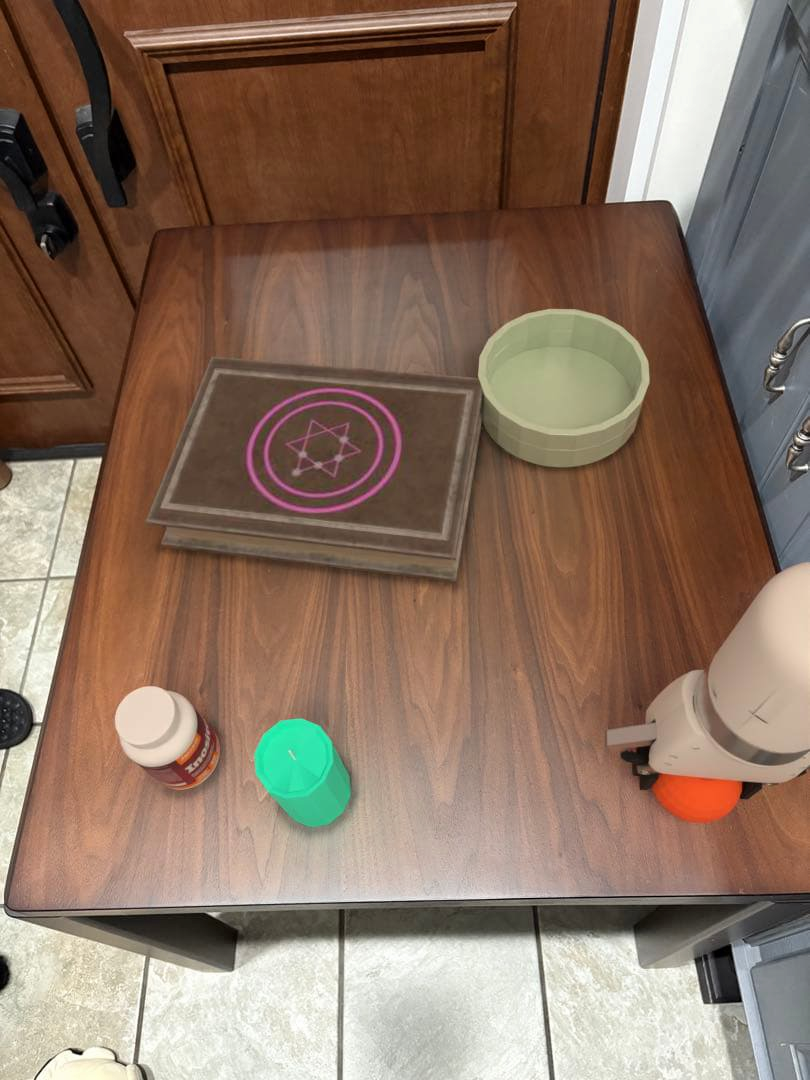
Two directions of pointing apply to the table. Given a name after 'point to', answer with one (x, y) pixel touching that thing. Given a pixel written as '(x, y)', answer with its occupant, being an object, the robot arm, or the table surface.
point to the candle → (303, 772)
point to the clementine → (697, 796)
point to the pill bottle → (167, 737)
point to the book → (325, 467)
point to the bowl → (562, 387)
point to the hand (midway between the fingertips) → (691, 775)
